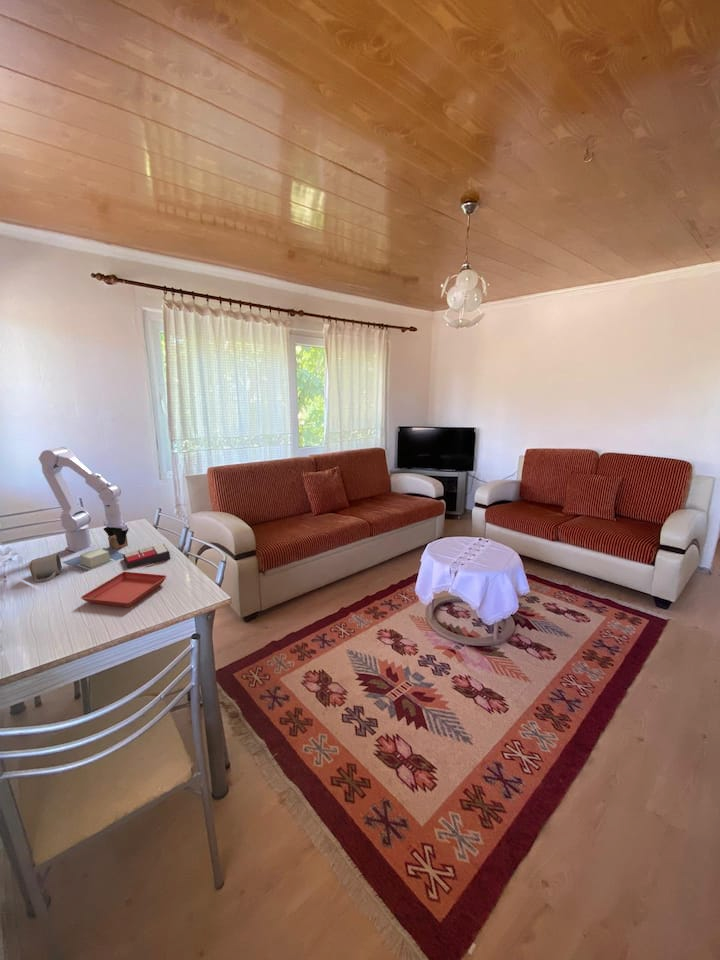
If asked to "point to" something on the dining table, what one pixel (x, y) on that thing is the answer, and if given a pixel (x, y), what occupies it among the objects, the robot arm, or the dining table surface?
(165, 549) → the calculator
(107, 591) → the plant saucer
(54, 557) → the ceramic mug
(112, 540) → the walnut block
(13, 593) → the dining table surface
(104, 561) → the sage base block
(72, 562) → the board
